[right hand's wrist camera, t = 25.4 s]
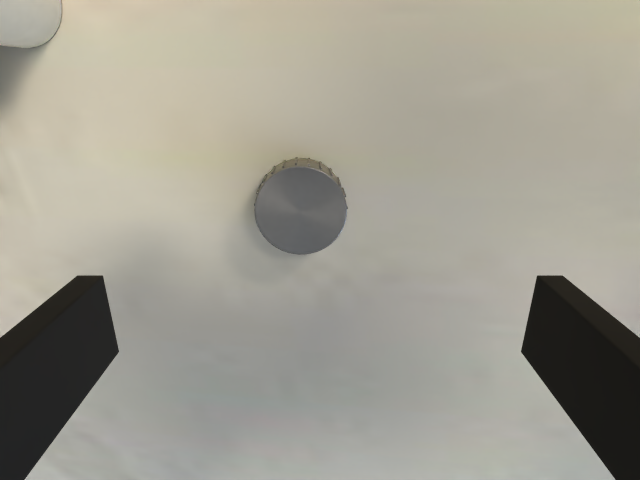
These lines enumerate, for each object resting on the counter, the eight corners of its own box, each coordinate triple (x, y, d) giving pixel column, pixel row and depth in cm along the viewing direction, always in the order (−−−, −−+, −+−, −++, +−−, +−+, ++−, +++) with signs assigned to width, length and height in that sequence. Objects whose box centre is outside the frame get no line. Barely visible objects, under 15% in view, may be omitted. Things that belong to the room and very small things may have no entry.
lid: (279, 141, 24) (276, 147, 21) (359, 180, 24) (365, 190, 22) (244, 219, 25) (238, 233, 23) (321, 252, 26) (322, 269, 24)
